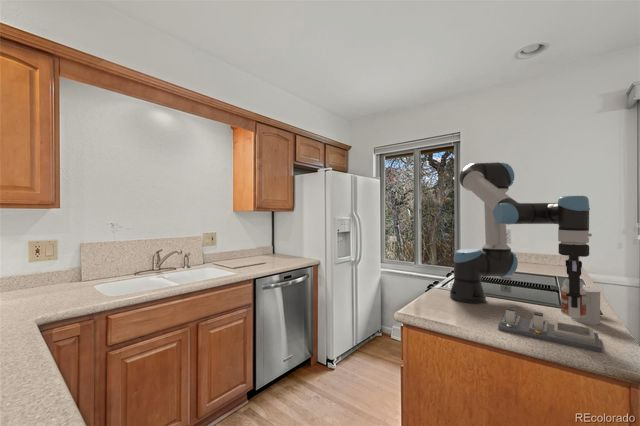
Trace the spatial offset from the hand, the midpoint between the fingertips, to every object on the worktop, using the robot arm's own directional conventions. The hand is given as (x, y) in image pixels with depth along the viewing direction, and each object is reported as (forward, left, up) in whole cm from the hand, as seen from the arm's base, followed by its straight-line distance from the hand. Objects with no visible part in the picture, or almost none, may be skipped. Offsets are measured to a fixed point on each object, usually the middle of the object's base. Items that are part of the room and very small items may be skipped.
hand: (573, 314), depth 93 cm
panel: (-7, -1, -8) cm, 11 cm away
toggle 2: (-9, -2, -6) cm, 11 cm away
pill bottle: (0, 0, -1) cm, 1 cm away
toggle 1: (-17, -2, -6) cm, 18 cm away
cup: (+4, +23, -8) cm, 25 cm away
